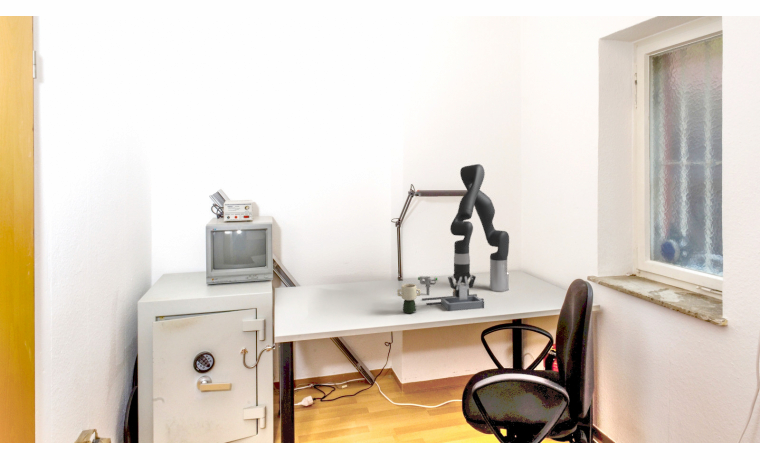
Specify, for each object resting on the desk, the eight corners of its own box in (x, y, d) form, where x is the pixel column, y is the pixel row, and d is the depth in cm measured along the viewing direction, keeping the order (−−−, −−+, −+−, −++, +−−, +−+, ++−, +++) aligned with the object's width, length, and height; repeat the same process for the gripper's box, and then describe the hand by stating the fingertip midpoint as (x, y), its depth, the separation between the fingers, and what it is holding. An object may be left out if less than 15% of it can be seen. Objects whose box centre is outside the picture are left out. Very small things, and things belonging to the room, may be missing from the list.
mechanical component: (437, 296, 226) (437, 277, 225) (418, 295, 228) (417, 277, 227) (437, 294, 229) (437, 276, 227) (418, 294, 231) (418, 276, 229)
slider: (462, 297, 220) (462, 288, 220) (466, 300, 215) (466, 291, 215) (452, 298, 219) (452, 289, 219) (455, 301, 214) (455, 291, 214)
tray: (475, 302, 213) (475, 295, 213) (484, 308, 202) (484, 301, 202) (441, 304, 210) (440, 298, 209) (448, 311, 199) (448, 304, 199)
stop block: (464, 297, 208) (464, 283, 207) (467, 300, 204) (467, 285, 203) (456, 298, 207) (456, 284, 206) (459, 300, 203) (459, 286, 202)
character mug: (419, 309, 204) (419, 283, 202) (421, 314, 196) (421, 286, 195) (397, 310, 203) (396, 284, 202) (398, 315, 196) (397, 287, 195)
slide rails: (476, 295, 224) (476, 294, 224) (483, 300, 214) (483, 299, 214) (421, 300, 219) (421, 298, 219) (427, 305, 209) (427, 303, 209)
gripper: (472, 259, 208) (472, 293, 210) (445, 261, 206) (445, 295, 208) (478, 262, 201) (478, 297, 203) (450, 264, 199) (450, 299, 201)
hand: (461, 296), depth 205 cm, fingers closed on stop block, 4 cm apart
